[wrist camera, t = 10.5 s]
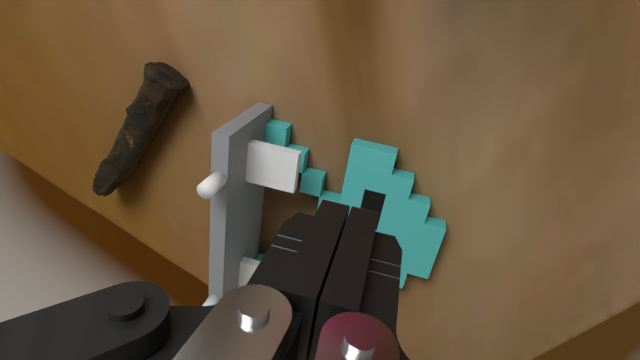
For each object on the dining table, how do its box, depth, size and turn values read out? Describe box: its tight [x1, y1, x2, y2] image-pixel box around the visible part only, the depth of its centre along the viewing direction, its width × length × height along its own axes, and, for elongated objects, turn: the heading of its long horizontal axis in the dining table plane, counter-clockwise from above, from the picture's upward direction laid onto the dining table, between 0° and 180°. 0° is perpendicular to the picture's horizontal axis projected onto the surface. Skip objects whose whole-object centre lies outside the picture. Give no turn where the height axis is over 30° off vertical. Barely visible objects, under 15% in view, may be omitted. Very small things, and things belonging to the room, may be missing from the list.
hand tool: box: [92, 62, 189, 196], centre depth 42 cm, size 19×4×5 cm, turn 140°
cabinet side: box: [197, 102, 302, 306], centre depth 38 cm, size 6×22×12 cm, turn 171°
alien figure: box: [255, 119, 446, 289], centre depth 42 cm, size 20×2×20 cm
